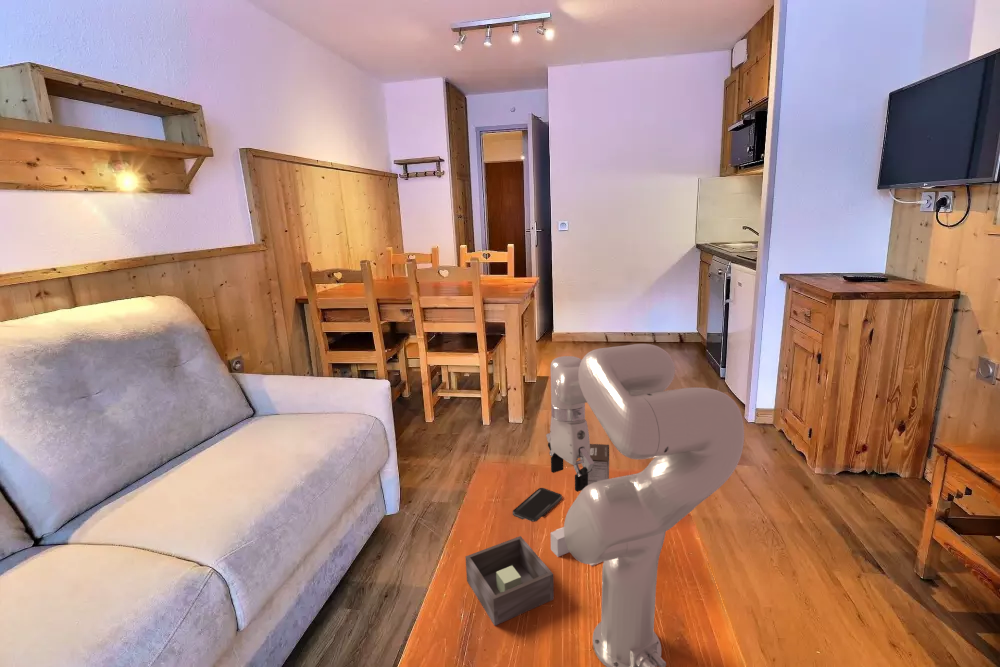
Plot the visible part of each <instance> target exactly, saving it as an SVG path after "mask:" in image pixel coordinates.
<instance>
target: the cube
mask: <svg viewBox="0 0 1000 667" xmlns="http://www.w3.org/2000/svg"><path fill="white" fill-rule="evenodd" d="M496 581H497V588H498V590H499V591H500V593H501V592H504V591H506V590H508V589H511V588H513V587H516V586H518V585H520V584H521V576H520V575H519V574H518V572H517V571H516V570H515V568H514V567H513V566H509V567H507V568H504V569H502V570H499V571H497V572H496Z"/></svg>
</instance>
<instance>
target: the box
mask: <svg viewBox="0 0 1000 667" xmlns="http://www.w3.org/2000/svg"><path fill="white" fill-rule="evenodd" d="M509 566H513V567H514V568H515V570H516V571H517V572H518V574H519V575H520V576H521V584H520V585H518V586H516V587H513V588H511V589H508V590H506V591H504V592H501V593H500V591H499V590H498V588H497V581H496V572H497V571H499V570H502V569H504V568H507V567H509ZM465 571H466V581H467V583H468V585H469V587H470V588H471V589H472V592H473V593H474V595H475V597H476V598H477V599H478V601H479V603H480V605H481V607H482V608H483V610H484V611H485V613H486V614H487V615H488V618H489V619H490V620H491V621H490V622H491V623H492V624H493V626H498V625H500V624H502V623H504V622H507V621H509V620H511V619H513V618H516V617H518V616H520V615H522V614H525V613H527V612H529V611H531V610H533V609H536V608H538V607H540V606H542V605H544V604H547V603H549V602H552V601H554V597H555V596H554V572H552V570H551V569H550V568H549V567H548V566H547V565H546V564H545V562H544V561H543V560H542V559H541V558H540V556H538V554H537V553H536V552H535V551H534V550H533V549H532V548H531V546H530V545H529V544H528V543H527V541H525V539H524V538H523V537H522V536H521V535H519V536H516V537H514V538H511V539H509V540H506V541H503V542H500V543H498V544H496V545H493V546H490V547H487V548H484V549H481V550H479V551H476V552H474V553H471V554H469V555H466V556H465Z"/></svg>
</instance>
